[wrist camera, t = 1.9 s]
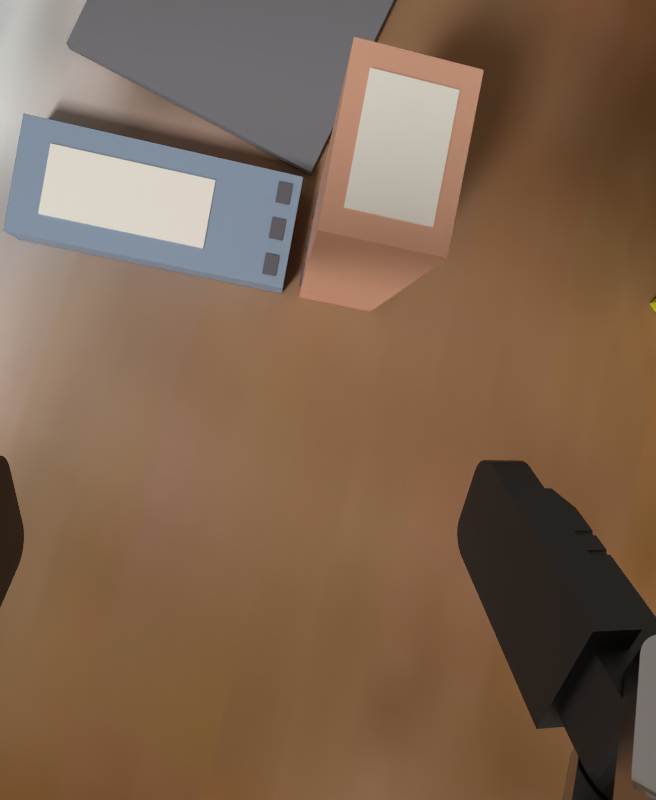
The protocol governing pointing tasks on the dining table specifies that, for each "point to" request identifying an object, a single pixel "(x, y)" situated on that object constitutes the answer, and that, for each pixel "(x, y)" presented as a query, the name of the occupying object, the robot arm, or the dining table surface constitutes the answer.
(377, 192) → the tan rectangular block
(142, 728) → the dining table surface
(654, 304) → the book
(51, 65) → the dining table surface
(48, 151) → the blue panel box
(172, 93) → the mat
